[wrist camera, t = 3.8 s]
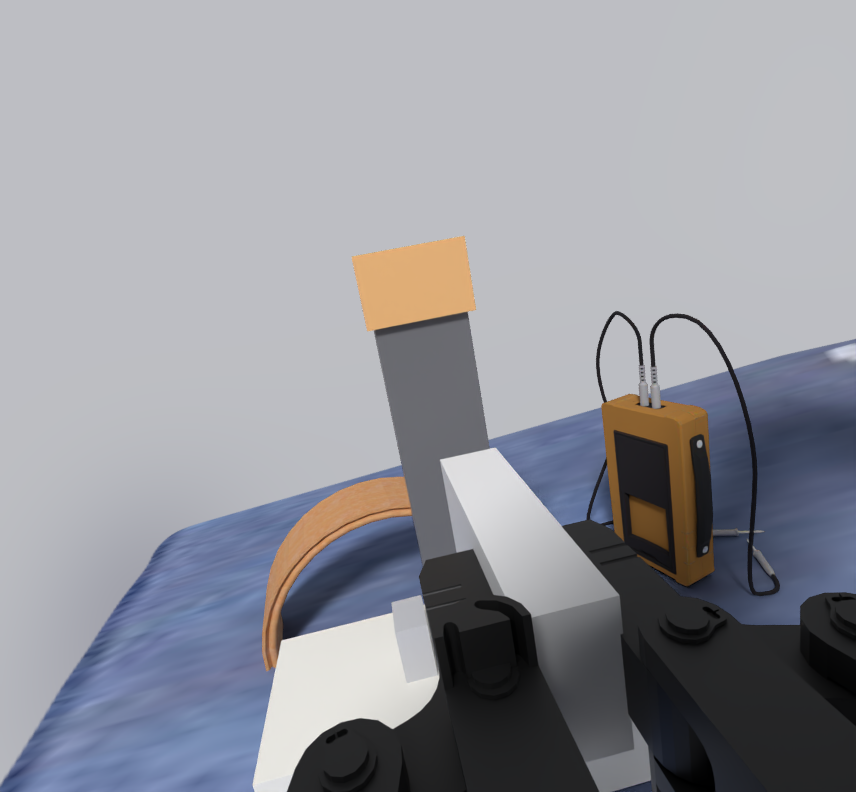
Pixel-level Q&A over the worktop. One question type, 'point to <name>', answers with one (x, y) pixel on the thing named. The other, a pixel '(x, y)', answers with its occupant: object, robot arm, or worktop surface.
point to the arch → (325, 543)
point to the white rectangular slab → (374, 693)
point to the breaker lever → (426, 369)
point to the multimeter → (667, 475)
